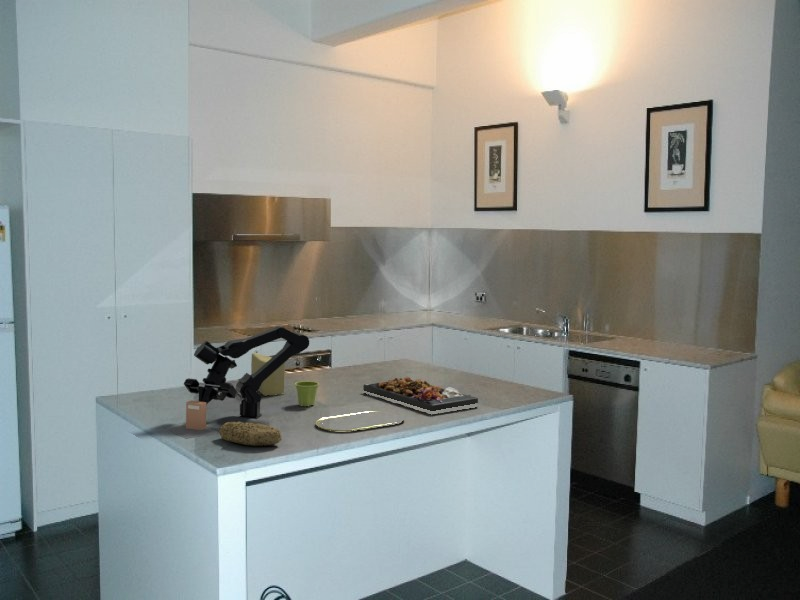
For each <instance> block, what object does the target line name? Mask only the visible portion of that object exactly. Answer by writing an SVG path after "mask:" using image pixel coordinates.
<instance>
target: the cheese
mask: <svg viewBox="0 0 800 600" xmlns="http://www.w3.org/2000/svg"><path fill="white" fill-rule="evenodd" d="M272 357H273V356H268V355H265V354H260V353H258V352H254V353H252V354H251V361H250V362H251V370H250V372H251V374H254V373H255V372H256V371H257V370H259V369H260V368H261V367H262V366H263V365H264V364H265V363H266V362H268V361H269V360H270V359H271V358H272ZM285 373H286V362H285V363H284V364H282V365H281V366H280V367H279V368H278V369H277V370H276V371H274V372H273V373H272V374H271V375H270V376H269V377H268V378H267V379H265V380H264V381H263V382H262V384H261V386H260V388H259V390H258V391H257V392H259V391H260V392H259V393H260V394H261V395H263V396H264V397H268V396H267V395H273V396H276V395H275V394H282V393H284V394H285V387H286V386H285V385H286V384H285V379H286V377H285V375H286V374H285ZM251 374H250V375H251ZM282 395H283V394H282Z"/></svg>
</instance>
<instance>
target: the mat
mask: <svg viewBox="0 0 800 600" xmlns="http://www.w3.org/2000/svg"><path fill="white" fill-rule="evenodd" d="M165 429H166V430H168V431H170V432H172V433H174V434H175V435H177V436H179V437H182V438H184V439H185V440H186V439H194V438H197V437H198V438H199V437H205V436H211V435H217V434H219V431H216V430H214V429H212V428H210V427H208V426H206V429H203V430H195V429H188V428H186V424H183V425H176V426H169V427H165Z"/></svg>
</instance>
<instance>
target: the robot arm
mask: <svg viewBox="0 0 800 600" xmlns="http://www.w3.org/2000/svg"><path fill="white" fill-rule="evenodd" d="M278 339H283V340H285V343H284V345H283V346H282V348H281V349H280V350H278V352H276V354H274V355H273V356H271V357H272V358H271V359H270V360H269V361H268V362H266V363H265V364H264V365H263V366H262V367H261V368H260V369H259V370H257V371H256V372H255V373H254V374H250V373H247V372H246V373H244V374H243V375H242V377H241V378H238V379H237V383H236V385H235V387H234V385H233V384H232V383H231V382H226V381H227V378H226V376H227V374H228V372H229V370H230V369H231V370H232V369H234V368H236V367H238V365H237V363H236V360H235V359H239V358H241V357H242V356H244V355H246V354H247V353H248V352H250V350H253V349H254V348H257V347H260V346H264V345H266V344H269V343H270V342H273V341H277V340H278ZM309 346H310V339H309V337H308V336H307V335H305V334H302V333H300V332H293V331H290V330H288V329H286V328H285V327H284V326H281V325H277V326H275V327H273V328H271V329H268V330H266V331H262V332H260V333H257V334H255V335H252V336H249V337H246V338H238V339H232V340H228V341H226V342H225V344H224V345H221V346H218V347H215V346H214V345H212V344H211V343H210V342H209V341H208V340H204V341H203V343H201V344H200V345H199V346H197V348H196V349H195V351H194V353H193V356H194V357H195V358H196V359H198V360H199V361H201V362H202V363H204V364H206V365H210V364H211V368H208V369H207V373H208V374H207V376H206V377H203V379H202V382H199V381H198V379H197V378H190V377H189V378H186V379H185V381H184V383H183V385H184V387H185V388H186V389H187V391H188V392H189V393H191V394H197V395H198V401H200V402H207V403H206V406H207V405H208V404H209V403H210V402H212V400H215V401H224V400H225V399H226V397H227V398H229V399H235V398H236V396H237V394H239V395H240V397H241V400H240V401H241V402H240V404H239V416H238V417H239V418H243V419H253V420H257V419H258V418H260V417H261V416H262V415H263V414H262V413H261V402H262V398H263V396H262V394H261V393H260V392H259V391H258V390H259V388H260V386H261V384H262V382H263V381H264V380H265V379H267V378H268V377H269V376H270V375H271V374H272V373H273V372H274V371H276V370H277V369H278V368H279V367H280V366H281V365H282V364H284V363H285V364H286V362H288V360H289V359H290V358H292V357H294V356H296V355H298V354H301V353H302V352H303V351H305V350H307V349H308V348H309Z"/></svg>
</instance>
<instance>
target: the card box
mask: <svg viewBox="0 0 800 600" xmlns="http://www.w3.org/2000/svg"><path fill="white" fill-rule="evenodd" d="M206 403H207V402H200V401H199V400H189V401H186V403H185V405H186V406H185V409H186V410H185V425H186V428H188V429H195V430H203V429H206V427H207V405H206Z"/></svg>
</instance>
